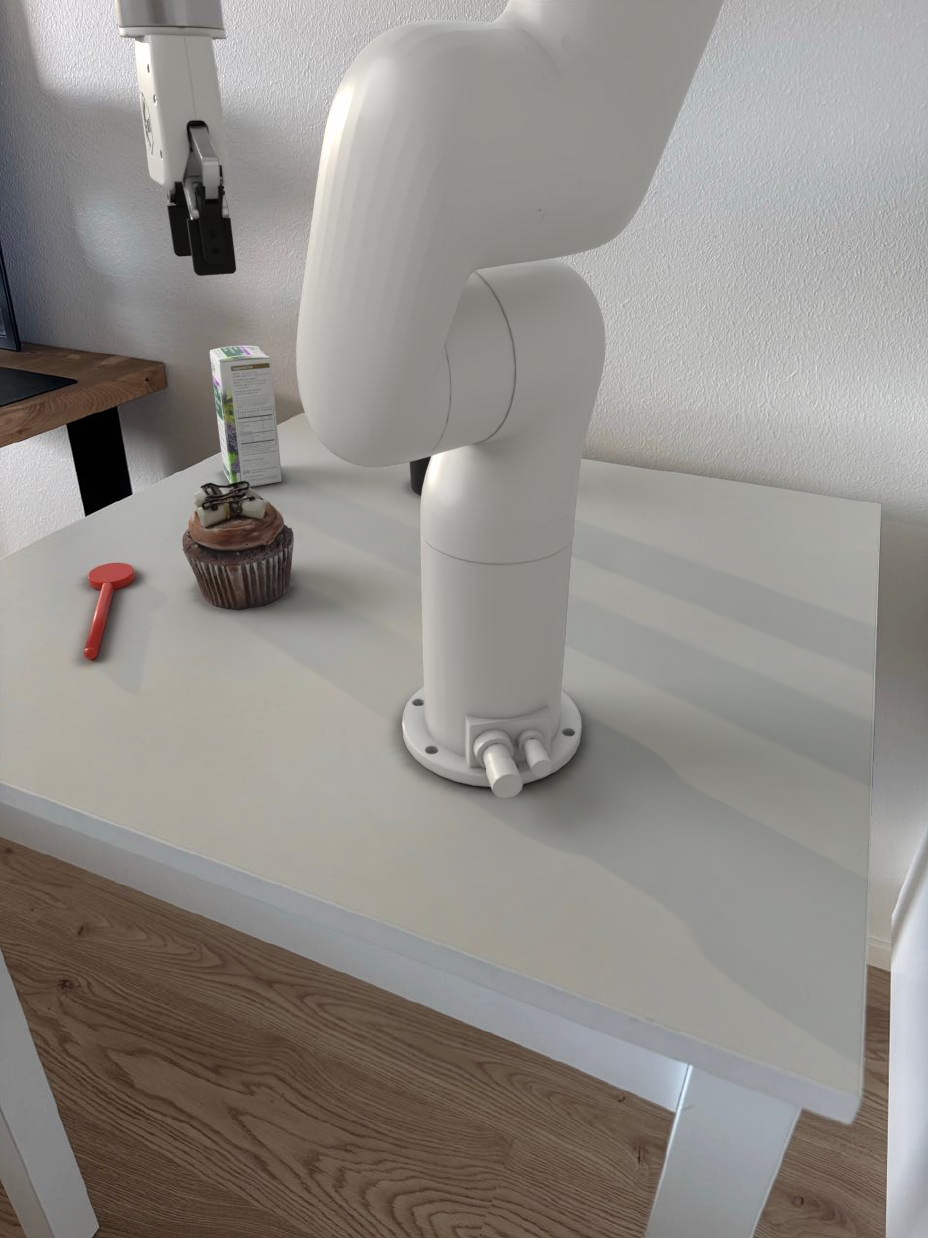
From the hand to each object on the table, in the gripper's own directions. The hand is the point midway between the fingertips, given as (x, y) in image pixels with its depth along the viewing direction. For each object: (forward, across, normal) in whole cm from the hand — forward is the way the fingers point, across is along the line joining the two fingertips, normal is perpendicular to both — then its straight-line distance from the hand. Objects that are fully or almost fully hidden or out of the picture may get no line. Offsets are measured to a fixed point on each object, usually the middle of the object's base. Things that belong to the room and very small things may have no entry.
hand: (204, 263), depth 75 cm
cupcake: (+27, +7, -1) cm, 28 cm away
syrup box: (+27, -19, +5) cm, 33 cm away
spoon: (+27, +5, -13) cm, 30 cm away
